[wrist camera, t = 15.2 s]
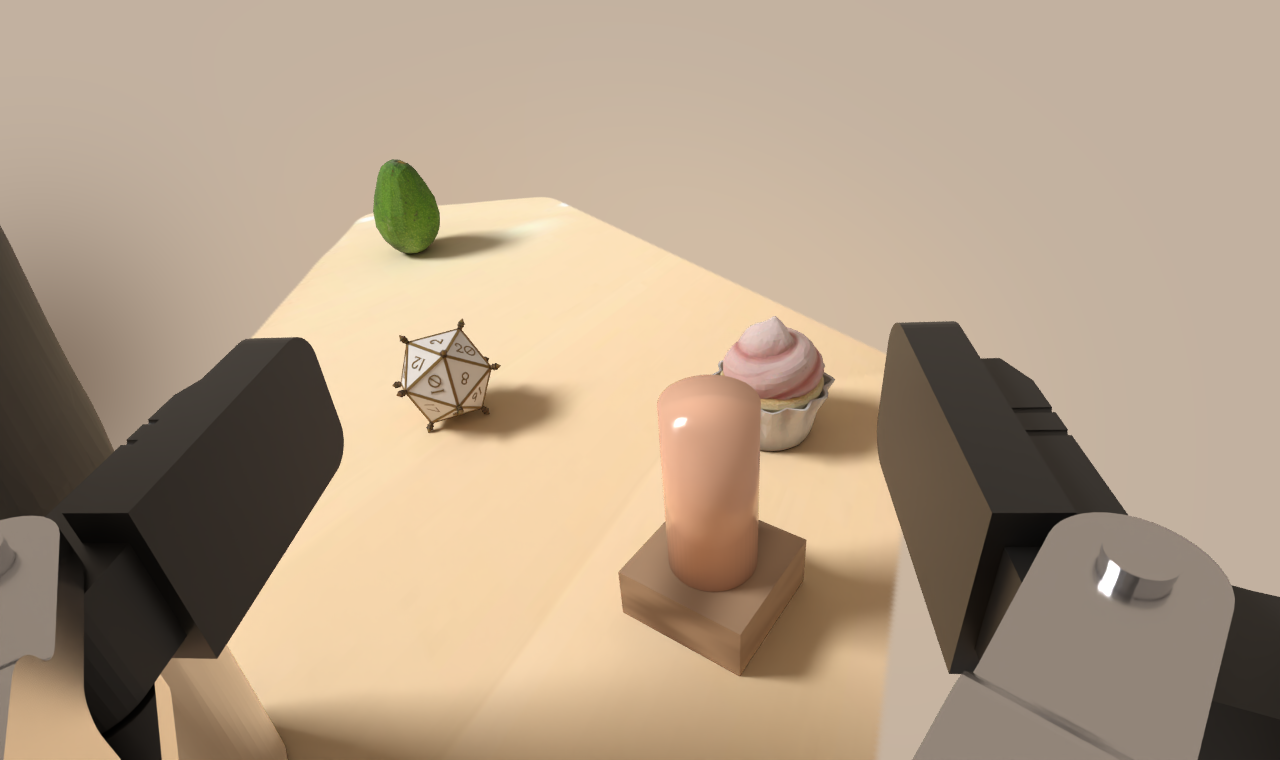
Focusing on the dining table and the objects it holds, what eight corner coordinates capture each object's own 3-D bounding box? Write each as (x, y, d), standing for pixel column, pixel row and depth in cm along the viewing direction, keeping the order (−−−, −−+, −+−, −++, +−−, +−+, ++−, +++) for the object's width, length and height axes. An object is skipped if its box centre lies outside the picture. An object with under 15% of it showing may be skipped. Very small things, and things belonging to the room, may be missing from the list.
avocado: (414, 267, 90) (390, 172, 84) (372, 257, 94) (346, 165, 88) (459, 244, 96) (440, 153, 89) (418, 235, 100) (396, 147, 93)
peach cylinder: (650, 567, 42) (636, 413, 36) (699, 514, 46) (693, 365, 40) (728, 606, 39) (726, 446, 33) (773, 546, 43) (779, 391, 37)
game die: (472, 434, 66) (503, 329, 66) (489, 456, 59) (525, 337, 58) (371, 410, 63) (404, 300, 63) (376, 431, 55) (413, 304, 55)
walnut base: (623, 612, 44) (618, 571, 42) (693, 531, 49) (692, 492, 47) (739, 676, 40) (740, 634, 38) (803, 580, 45) (806, 539, 43)
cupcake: (849, 417, 59) (861, 307, 53) (794, 481, 53) (802, 364, 47) (748, 383, 64) (750, 280, 58) (688, 438, 58) (684, 328, 52)
